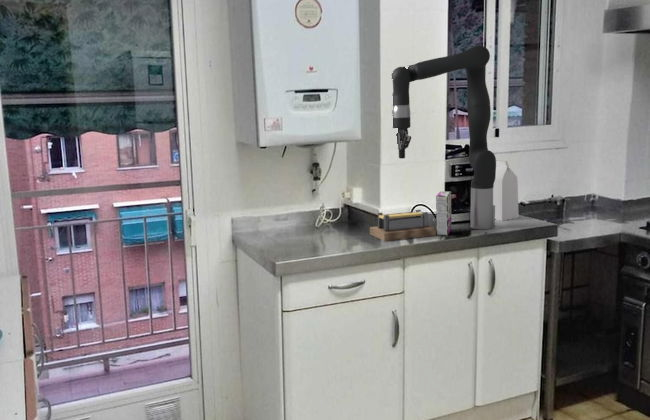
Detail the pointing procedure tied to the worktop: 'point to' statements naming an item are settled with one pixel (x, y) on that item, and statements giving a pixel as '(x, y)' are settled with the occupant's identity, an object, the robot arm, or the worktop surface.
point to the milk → (505, 192)
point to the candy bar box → (443, 213)
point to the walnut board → (402, 233)
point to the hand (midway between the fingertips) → (401, 158)
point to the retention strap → (403, 215)
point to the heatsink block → (402, 222)
